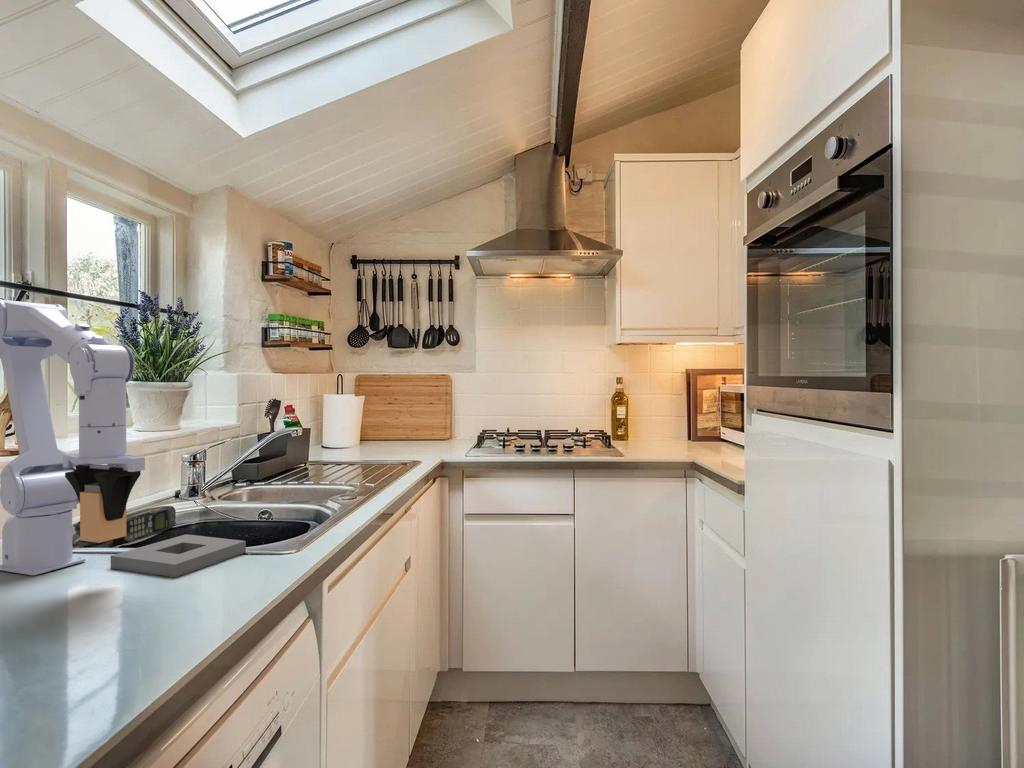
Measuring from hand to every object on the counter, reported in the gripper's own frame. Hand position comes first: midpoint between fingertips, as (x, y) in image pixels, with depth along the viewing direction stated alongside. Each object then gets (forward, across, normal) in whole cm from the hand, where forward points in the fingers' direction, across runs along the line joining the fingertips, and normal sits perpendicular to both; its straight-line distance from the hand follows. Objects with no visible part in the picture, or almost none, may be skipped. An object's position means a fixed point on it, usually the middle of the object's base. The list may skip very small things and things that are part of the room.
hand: (103, 518), depth 85 cm
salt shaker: (+10, -26, +16) cm, 32 cm away
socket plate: (+10, 0, +13) cm, 16 cm away
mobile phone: (+10, -21, +24) cm, 33 cm away
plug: (+3, 0, 0) cm, 3 cm away
